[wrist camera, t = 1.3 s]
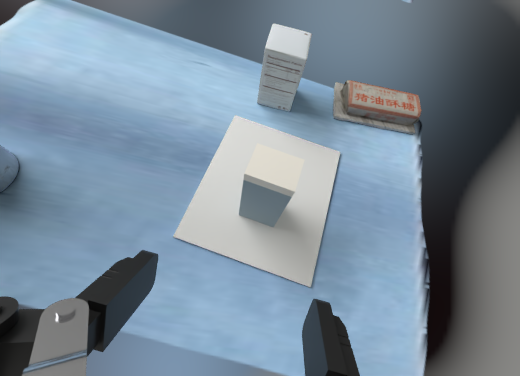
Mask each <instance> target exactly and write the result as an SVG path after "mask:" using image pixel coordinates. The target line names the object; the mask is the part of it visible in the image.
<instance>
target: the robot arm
mask: <svg viewBox="0 0 520 376" xmlns="http://www.w3.org/2000/svg"><path fill="white" fill-rule="evenodd" d="M18 169H19V163H18V160H17V158H16V157H15V156H14V155H13V154H12V153H11V152H9V151H8V150H6V149H5V148H4V147H2V146H1V145H0V192H1V191H3V190H4V189H6V188H7V187H8V186H9V185H10V184H11V183H12V181H13V180H14V179H15V177H16V175H17V173H18ZM157 263H158V254H155V253H152V252H148V251H145V250H142V251H141V252H139V253H138V254H137V255H136V256H135V257H134V258H129V257H127V258H125V259H123V260H121V261H118V262H117V263H115V264H114V265H113V266H112V267H111V268H110V269H109V270H107V271H106V272H105V273H104V274H103V275H102V276H100V277H99V278H98V279H97V280H95V281H94V282H93V283H92V284H91V285H90V286H88V287H87V288H86V289H85V290H84V291H83V292H81V293H80V294H79V295H78V296H77V297H76V298H70V299H64V300H61V301H58V302H56V303H54V304H52V305H50V306H49V307H48V308H46V309H19V306H18V301H17V300H16V299H14V298H11V297H0V376H86V361H87V356H88V355H89V354H90V353H91V352H92V350H93V349H94V350H98V351H101V352H103V351H104V350H105V348H106V347H107V346H108V345H109V344H110V342H111V341H112V340H113V338H114V337H115V336H116V335H117V333H118V332H119V331H120V329H121V328H122V327H123V326H124V324H125V323H126V322H127V320H128V319H129V318H130V317H131V315H132V314H133V313H134V312H135V310H136V309H137V308H138V306H139V305H140V304H141V303H142V301H143V300H144V299H145V297H146V296H147V295H148V294H149V292H150V291H151V289H152V287H153V284H154V281H155V276H156V269H157ZM302 340H303V352H304V365H305V376H360V375H359V371H358V368H357V364H356V361H355V358H354V354H353V351H352V348H351V344H350V340H349V339H348V334H347V330H346V327H345V325H344V324H343V323H342V321H341V320H340V318H339V317H337V316H334V315H333V313H332V309H331V305H330V303H328V302H325V301H321V300H318V299H313V301H312V303H311V306H310V308H309V311H308V314H307V316H306V319H305V321H304V325H303V331H302Z"/></svg>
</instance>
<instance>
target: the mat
mask: <svg viewBox="0 0 520 376" xmlns="http://www.w3.org/2000/svg"><path fill="white" fill-rule="evenodd" d="M257 143H258V144H261V145H264V146H267V147H270V148H273V149H275V150H278V151H281V152H284V153H287V154H290V155H292V156H295V157H298V158H301V159H304V164H303V167H302V170H301V174H300V177H299V181H298V184H297V187H296V191H295V193H294V194H293V196H292V198H291V199H290V201H289V203H288V204H287V206H286V208H285V209H284V211H283V212H282V214H281V216H280V217H279V219H278V221H277V222H276V224H275V226H274V227H270V226H268V225H265V224H262V223H259V222H257V221H254V220H251V219H248V218H246V217H243V216H240V215H239V208H240V201H241V194H242V187H243V179H244V173H245V171H246V168H247V166H248V164H249V161H250V159H251V157H252V154H253V152H254V150H255V147H256V145H257ZM339 156H340V152H339V151H336V150H333V149H330V148H327V147H324V146H321V145H319V144H316V143H313V142H310V141H307V140H304V139H301V138H299V137H296V136H293V135H290V134H287V133H284V132H282V131H279V130H276V129H273V128H270V127H267V126H264V125H262V124H259V123H256V122H253V121H250V120H247V119H244V118H242V117H239V116H236V115H235V116H234V118H233V120H232V122H231V124H230V126H229V128H228V130H227V132H226V134H225V136H224V138H223V140H222V142H221V144H220V146H219V148H218V150H217V152H216V154H215V156H214V158H213V160H212V161H211V163H210V165H209V167H208V169H207V171H206V173H205V175H204V177H203V179H202V181H201V183H200V185H199V187H198V189H197V191H196V193H195V195H194V197H193V199H192V201H191V203H190V205H189V207H188V208H187V210H186V212H185V214H184V216H183V218H182V220H181V222H180V224H179V226H178V228H177V230H176V232H175V234H174V236H173V237H175V238H178V239H180V240H183V241H186V242H188V243H191V244H194V245H197V246H199V247H202V248H205V249H207V250H210V251H213V252H215V253H218V254H221V255H224V256H226V257H229V258H232V259H234V260H237V261H240V262H242V263H245V264H248V265H251V266H253V267H256V268H259V269H261V270H264V271H267V272H270V273H272V274H275V275H278V276H280V277H283V278H286V279H288V280H291V281H294V282H297V283H299V284H302V285H305V286H307V287H311V284H312V279H313V275H314V270H315V265H316V261H317V256H318V252H319V247H320V243H321V238H322V234H323V229H324V224H325V220H326V215H327V211H328V206H329V202H330V197H331V192H332V188H333V183H334V179H335V174H336V170H337V165H338V161H339Z"/></svg>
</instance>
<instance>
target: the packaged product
mask: <svg viewBox="0 0 520 376" xmlns="http://www.w3.org/2000/svg"><path fill="white" fill-rule="evenodd" d="M420 107H421V106H420V100H419V96H418V95H415V94H411V93H407V92H402V91H397V90H393V89H389V88H384V87H379V86H374V85H369V84H364V83H359V82H356V81H350V80H348V81H346V82H345V84H341V83H337V82H336V84H335V87H334V105H333V115H334V119H338V120H344V121H351V122H355V123H359V124H363V125H368V126H373V127H376V128H381V129H387V130H393V131H399V132H403V133H407V134H415V129H414V125H413V124H414V123H416V122H418V120H419V117H420V114H421V108H420Z"/></svg>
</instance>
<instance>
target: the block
mask: <svg viewBox="0 0 520 376" xmlns="http://www.w3.org/2000/svg"><path fill="white" fill-rule="evenodd" d="M303 164H304V159H301V158H298V157H295V156H292V155H290V154H287V153H284V152H281V151H278V150H275V149H273V148H270V147H267V146H264V145H261V144H258V143H257V145H256V147H255V150H254V152H253V154H252V157H251V159H250V161H249V164H248V166H247V168H246V171H245V173H244V179H243V187H242V194H241V201H240V208H239V215H240V216H243V217H246V218H248V219H251V220H254V221H257V222H259V223H262V224H265V225H268V226H270V227H274V226H275V224H276V222H277V221H278V219H279V217H280V216H281V214H282V212H283V211H284V209H285V208H286V206H287V204H288V203H289V201H290V199H291V198H292V196H293V194H294V193H295V191H296V187H297V184H298V181H299V177H300V174H301V170H302V167H303Z"/></svg>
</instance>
